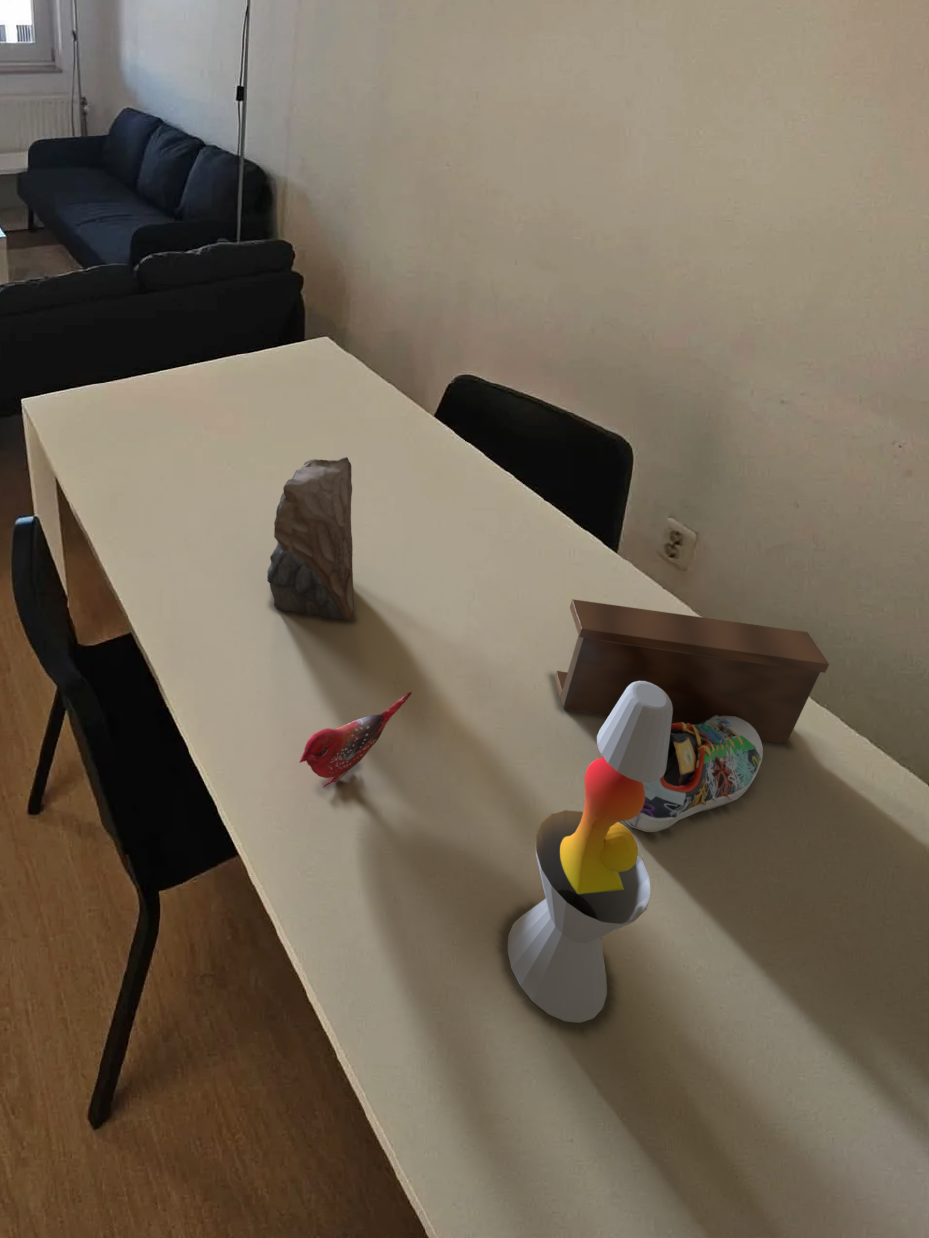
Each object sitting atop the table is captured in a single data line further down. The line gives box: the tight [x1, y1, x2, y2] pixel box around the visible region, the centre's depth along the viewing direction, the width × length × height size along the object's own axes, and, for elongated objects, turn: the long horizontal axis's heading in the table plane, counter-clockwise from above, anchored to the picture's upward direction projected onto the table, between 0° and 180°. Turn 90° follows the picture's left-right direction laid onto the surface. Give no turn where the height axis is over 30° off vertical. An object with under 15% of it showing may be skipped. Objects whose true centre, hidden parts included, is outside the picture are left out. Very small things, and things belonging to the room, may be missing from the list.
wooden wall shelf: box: [554, 598, 830, 745], centre depth 93 cm, size 27×5×13 cm, turn 81°
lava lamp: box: [507, 681, 673, 1024], centre depth 63 cm, size 9×9×35 cm
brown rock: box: [266, 456, 355, 621], centre depth 110 cm, size 13×13×20 cm
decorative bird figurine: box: [299, 691, 413, 789], centre depth 86 cm, size 3×18×10 cm, turn 126°
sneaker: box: [623, 715, 764, 833], centre depth 85 cm, size 8×22×10 cm, turn 116°
